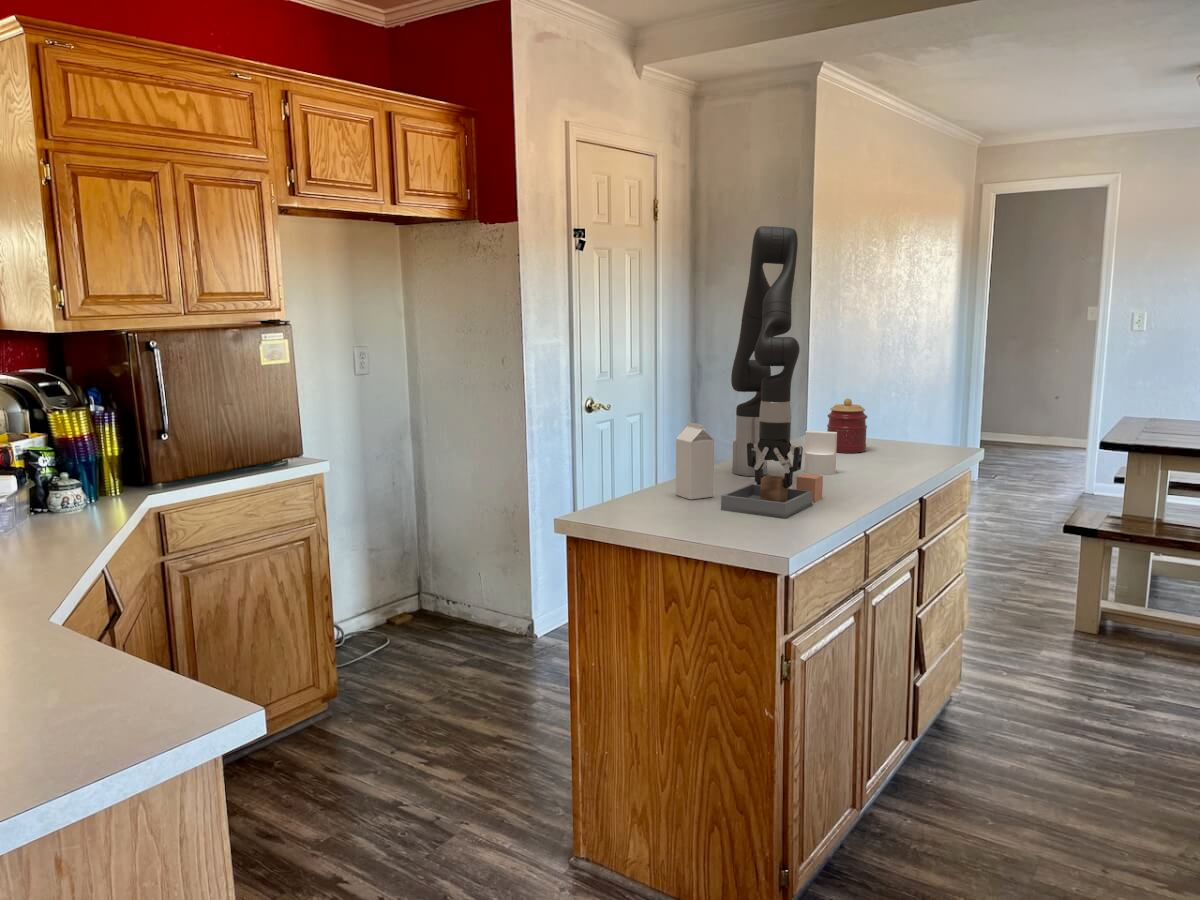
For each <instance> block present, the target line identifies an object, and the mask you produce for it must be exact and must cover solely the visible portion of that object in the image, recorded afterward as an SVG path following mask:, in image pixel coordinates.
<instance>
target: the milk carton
mask: <svg viewBox="0 0 1200 900" xmlns="http://www.w3.org/2000/svg"><path fill="white" fill-rule="evenodd" d="M686 424H687V425H686V427H685V428H684V429H683V430H682V431H681V432H680V433H679V434H678V435H677V437H676V438H675V495H676V496H679V497H683V498H685V499H688V500H697V499H703V498H704V499H706V498H713V497H714V483H715V482H714V481H715V479H714V474H715V473H714V469H715V468H714V467H715V439H714V438H713V437H712V436H711V435H710V434H709V433H708V431H707V430H706V429H705V428H704V425H703V424H699V423H693V422H689V421H687V423H686Z"/></svg>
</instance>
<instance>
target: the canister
mask: <svg viewBox="0 0 1200 900" xmlns="http://www.w3.org/2000/svg"><path fill="white" fill-rule="evenodd" d="M830 411H831V412H830V413H828V414H827V415H826V416H827V418H828V423H827V424H826V427H827V431H826V432H837V447H836V453H837V452H840V453H839V454H859V453H858V452H861V453H863V452H864V453H865V451H866V449H867V428H868V425H867V422H866V420H867V419H868V415H867V414H866V413H865V411H866V409H865V408H864V407H862V406H861V405H859V404H853V401H852V399H850V398H845V399H844V400H843V403H839V404H835V405H833V406H832V407H830Z"/></svg>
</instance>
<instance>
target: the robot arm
mask: <svg viewBox="0 0 1200 900" xmlns="http://www.w3.org/2000/svg"><path fill="white" fill-rule="evenodd" d="M798 241H799V239H798V233H797V230H796V229H794V228H791V227H784V226H783V227H782V226H770V225H768V226H767V225H762V226H759V227H757V228H756V230H755V232H754V235H753V240H752V247H751V257H750V267H749V274H748V275H749V276H748V284H747V289H746V293H745V294H746V295H745V300H744V304H743V309H742V315H741V326H740V331H739V332H740V333H739V337H738V344H737V349H736V352H735V357H734V360H733V365H732V369H731V378H730V380H731V381H730V382H731V387H732V389H733V390H734V391H735V392H739V393H755V396H754V397H752V398H751V399H749V400H747V401H744V402H741V403H739V404H737V406H736V408H735V411H736V413H735V415H736V416H735V440H733V441H732V469H731V471H732V474H736V475H739V476H745V477H754V482H755V483H756V485H761V478H763V477H764V476H765V475H766V476H767V475H768V461H773V462H774V461H775V462H779V464H780V465H781V466H782V468H783V469H784V471H785V473H784V476H783V477H784V488H791V486H792V485H793V479H794V478H793V477H794V476H793V474H794V473H795V472H797V471H800V470H801V469H802V461H803V460H802V459H803V453H804V452H803V449H804V448H803V446H801V445H798V446H796V445H795V446H794V445H792V444H791V433H792V432H791V429H792V428H791V425H792V422H791V421H792V408H791V407H792V406H791V387H792V381H793V380H792V379H793V374H794V371H795V367H796V364H797V362H798V359H799V355H800V344H799V341H798V340H797V339H796V338H795V337H792V336H781V335H785V334H786V333H788V332H790V330H791V327H792V300H793V299H792V295H793V288H794V280H795V273H796V266H797V265H796V264H797V256H798V248H799V247H798V246H799V243H798ZM764 264H769V265H770V264H772V265H774V264H775V265H782V268H781V269H782V270H781V272H780V274H779V275H778V277H777V278H776V279H775V281H774V282H773V284H772V285H770V284H769V282H768V279H767V277H766V275H765V270H764V267H763V266H764ZM752 356H754V359H751V357H752ZM771 367H783V368H782V370H781V371H780V372H779V373H777V374H773V375H772V368H771ZM790 452H791V454H792V456H793V457H792V460H791V459H790V456H789V455H788V454H789V453H790ZM791 461H792V462H791Z"/></svg>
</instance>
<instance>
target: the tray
mask: <svg viewBox="0 0 1200 900" xmlns="http://www.w3.org/2000/svg"><path fill="white" fill-rule="evenodd" d="M760 491H761V485H757V483H750V484H747V485H744V486H742V487H740V488H737V489H734V490H731V491H729V492H725V493H724V494H722V495H720V510H721V511H722V510H723V511H728V512H729V511H730V512H736V513H743V514H750V515H757V516H766V517H773V518H779V519H788V518H789V517H791V516H794V515H795V514H797V513H799V512H801V511H804V510H805V509H808V508H809V507H811V506H813V502H812V498H813V491H807V490H798V489H796V488H791V487H789V488H788V497H787V501H786V502H784V503H782V502H774V501H767V500H760Z"/></svg>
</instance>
